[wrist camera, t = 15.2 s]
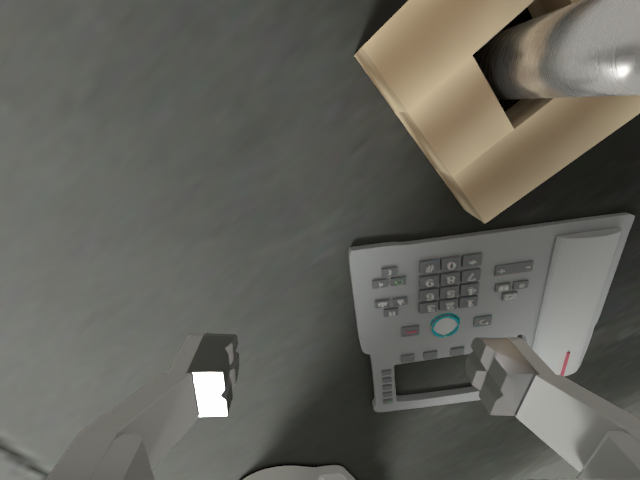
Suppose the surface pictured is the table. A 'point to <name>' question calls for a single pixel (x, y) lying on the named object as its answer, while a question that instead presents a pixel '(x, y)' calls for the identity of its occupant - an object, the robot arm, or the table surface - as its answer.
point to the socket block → (480, 102)
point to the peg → (567, 53)
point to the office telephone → (483, 297)
